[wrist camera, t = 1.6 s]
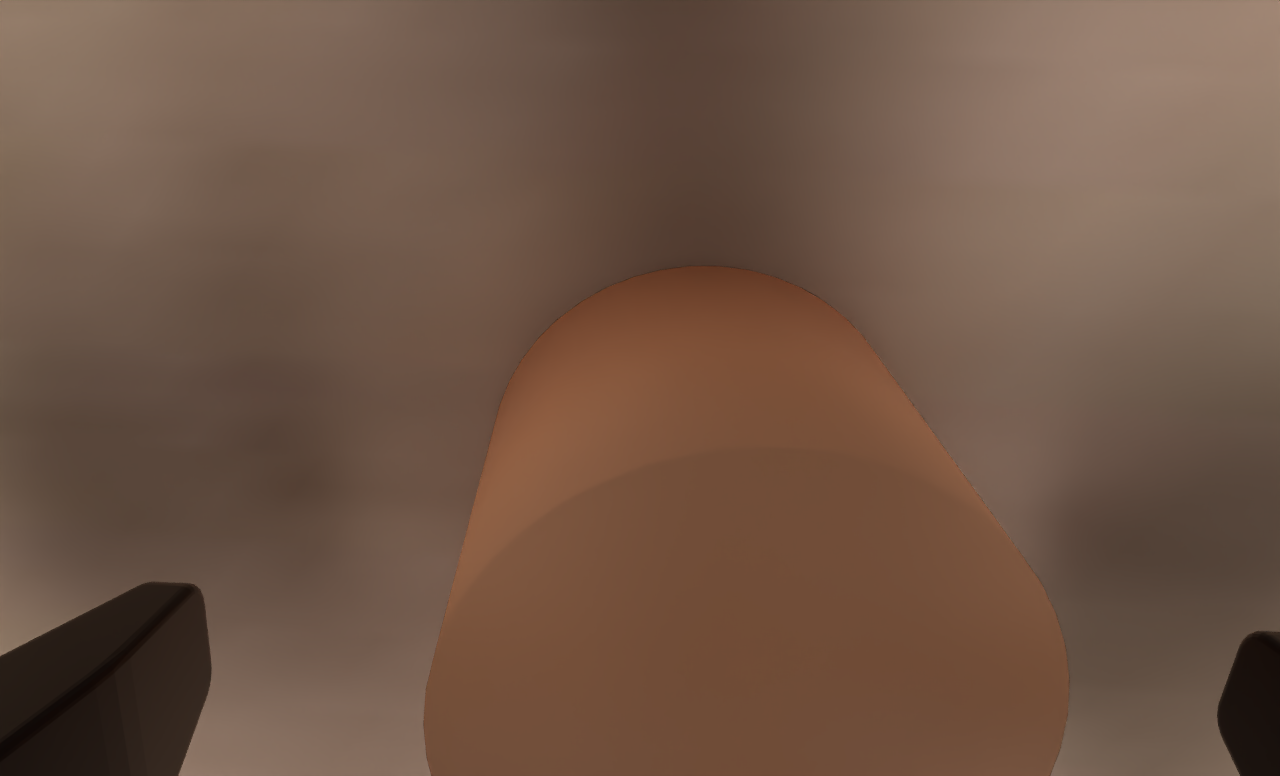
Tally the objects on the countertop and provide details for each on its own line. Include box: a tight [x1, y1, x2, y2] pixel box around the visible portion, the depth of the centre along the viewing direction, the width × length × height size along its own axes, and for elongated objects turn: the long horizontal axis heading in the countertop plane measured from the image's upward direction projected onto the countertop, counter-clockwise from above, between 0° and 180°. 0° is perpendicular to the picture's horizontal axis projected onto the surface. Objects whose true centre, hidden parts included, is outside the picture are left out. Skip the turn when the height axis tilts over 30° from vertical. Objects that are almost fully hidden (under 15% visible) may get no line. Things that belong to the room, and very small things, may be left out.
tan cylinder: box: [424, 266, 1070, 776], centre depth 9 cm, size 5×5×4 cm
